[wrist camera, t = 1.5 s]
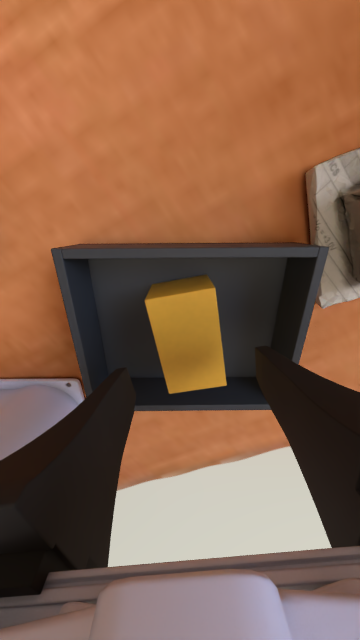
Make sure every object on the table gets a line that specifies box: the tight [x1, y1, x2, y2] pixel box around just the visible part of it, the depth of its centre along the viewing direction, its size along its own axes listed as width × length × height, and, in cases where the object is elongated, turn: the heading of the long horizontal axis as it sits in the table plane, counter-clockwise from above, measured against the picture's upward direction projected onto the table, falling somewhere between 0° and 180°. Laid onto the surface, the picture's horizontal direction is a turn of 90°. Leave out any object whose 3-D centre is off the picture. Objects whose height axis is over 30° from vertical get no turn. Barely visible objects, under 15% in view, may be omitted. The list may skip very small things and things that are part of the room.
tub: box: [51, 243, 329, 411], centre depth 16 cm, size 16×13×4 cm
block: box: [145, 275, 227, 394], centre depth 16 cm, size 4×8×4 cm, turn 10°
